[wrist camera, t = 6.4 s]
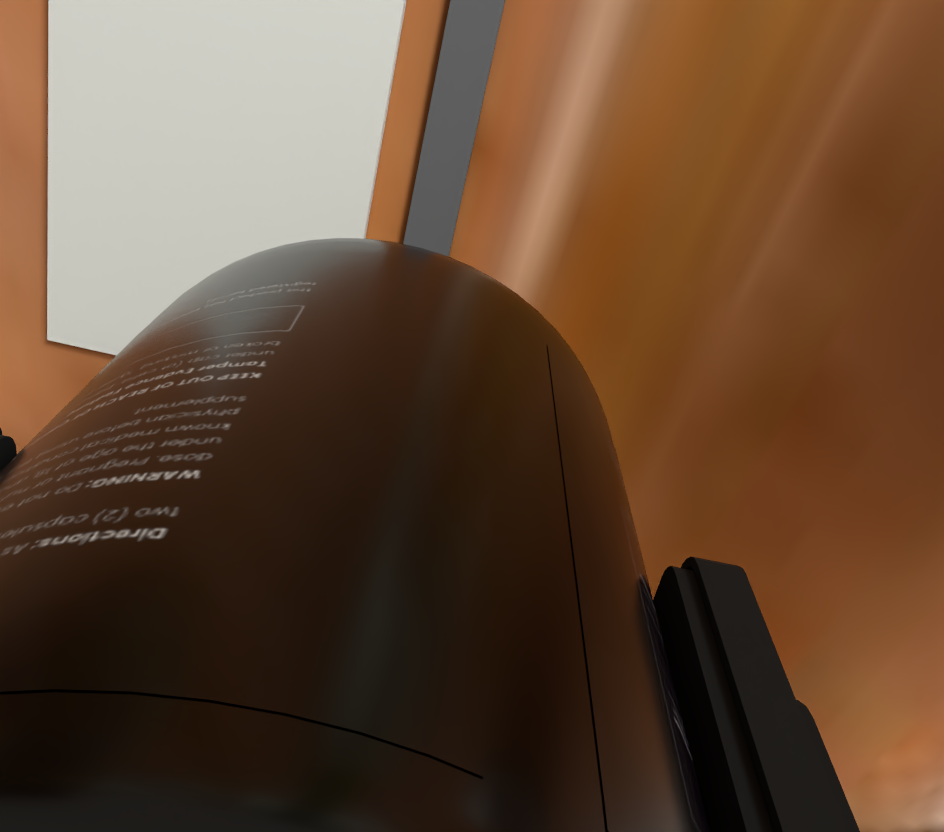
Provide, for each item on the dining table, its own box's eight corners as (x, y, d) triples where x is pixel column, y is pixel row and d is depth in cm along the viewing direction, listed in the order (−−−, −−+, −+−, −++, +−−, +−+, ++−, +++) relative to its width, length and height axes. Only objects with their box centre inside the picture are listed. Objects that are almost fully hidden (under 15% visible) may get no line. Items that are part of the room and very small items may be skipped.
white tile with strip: (525, -94, 24) (525, -95, 23) (413, 415, 31) (412, 421, 30) (58, -215, 23) (49, -219, 23) (54, 334, 30) (47, 339, 30)
